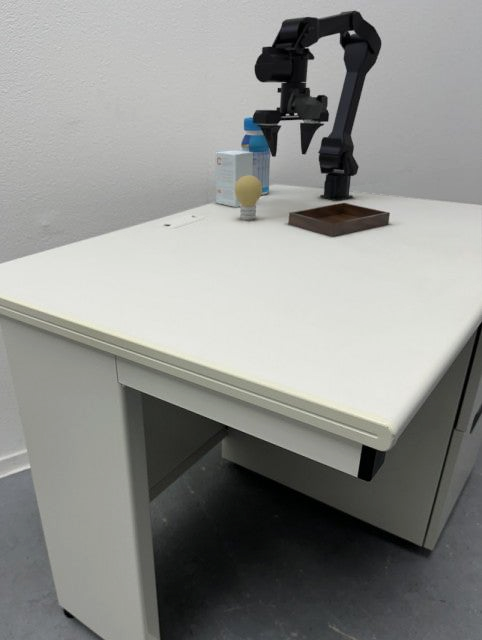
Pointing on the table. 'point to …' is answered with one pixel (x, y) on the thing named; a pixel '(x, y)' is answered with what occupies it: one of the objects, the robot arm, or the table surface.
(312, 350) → the table surface
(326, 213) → the walnut tray
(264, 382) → the table surface
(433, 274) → the table surface
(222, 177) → the small box
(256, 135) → the beverage bottle
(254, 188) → the light bulb
